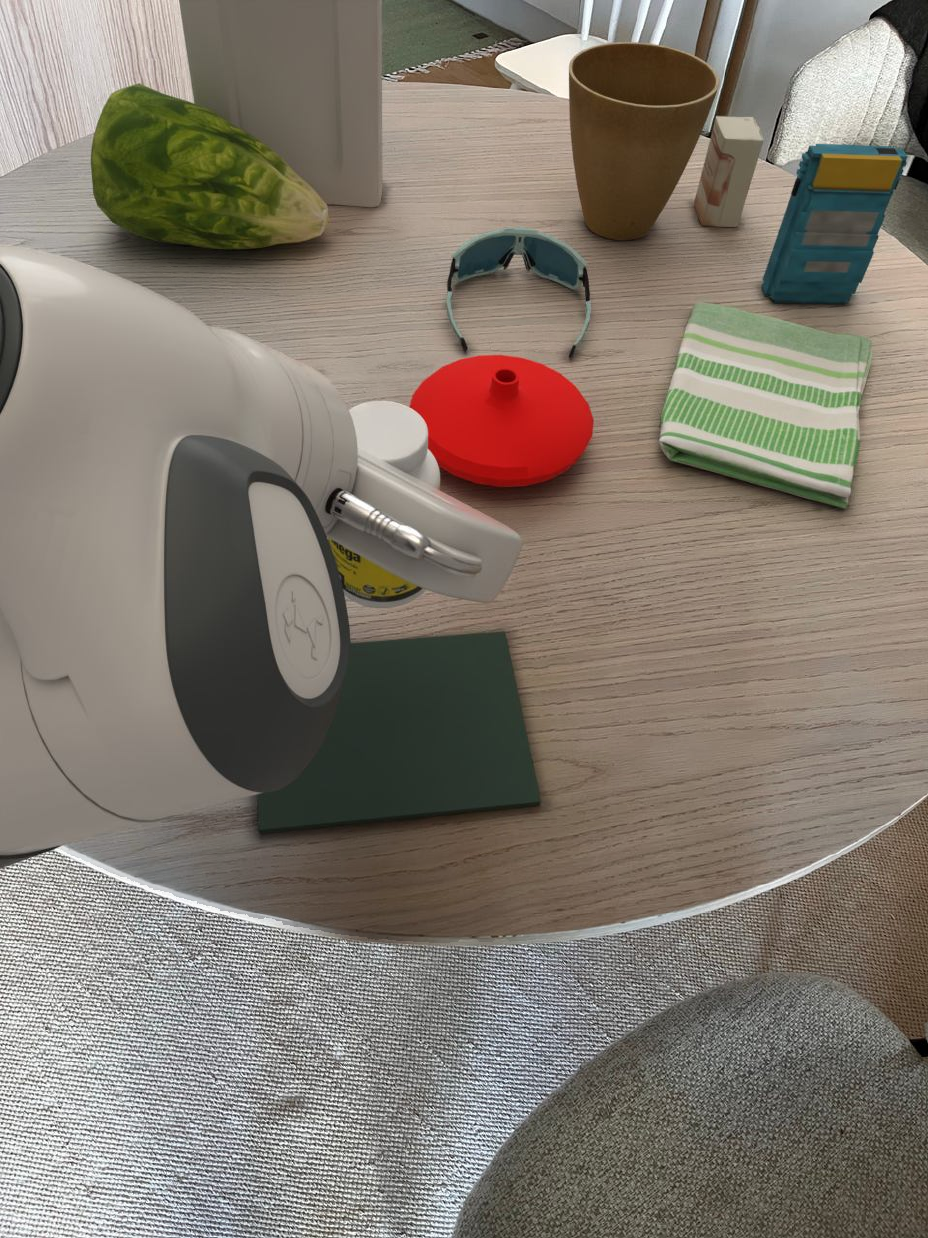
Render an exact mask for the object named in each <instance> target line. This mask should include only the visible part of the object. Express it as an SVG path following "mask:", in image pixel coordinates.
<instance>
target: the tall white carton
mask: <svg viewBox="0 0 928 1238" xmlns="http://www.w3.org/2000/svg"><path fill="white" fill-rule="evenodd" d="M178 4H179V11H180V18H181V23H182V31H183V38H184V44H185V51H186V57H187V64H188V70H189V77H190V82H191V91H192V98H193V103H194V104H196V105H199V106H201V107H204V108H206V109H209V110H211V111H213V112H214V113H216V114H217V115H219V116H220V117H222V118H223V119H225V120H226V121H228V122H229V123H231V124H233V125H234V126H236V127H238V128H240V129H241V130H243V131H245V132H247V133H249V134H250V135H252V136H253V137H255V138H256V139H258V140H259V141H261V142H263V143H264V144H266V145H267V146H268V147H269V148H270V149H272V150H273V151H274V152H275V153H276V154H278V155H279V156H280V157H281V158H282V159H283V160H284V161H285V162H286V163H287V164H288V166H289V167H290V168H291V169H292V170H293V171H294V172H295V173H296V174H297V175H298V176H299V177H301V178H302V179H303V180H304V181H305V182H306V183H307V184H309V185H310V186H311V187H312V188H313V189H314V190H315V191H316V192H317V193H318V195H319V196H320V197H321V198H322V199H323V201H324V202H325V203H326V205H335V206H348V207H361V208H377V207H380V205H381V201H382V195H383V190H384V189H383V23H382V22H383V21H382V20H383V14H382V13H383V1H382V0H178Z"/></svg>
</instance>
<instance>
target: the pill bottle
mask: <svg viewBox="0 0 928 1238" xmlns="http://www.w3.org/2000/svg"><path fill="white" fill-rule="evenodd" d="M348 409H349V408H348ZM349 412H350V414H351V417H352V420H353V423H354V427H355V431H356V437H357V446H358V448H359V449H361V450H363V451H365V452H367V453H369V454H371V455H373V456H375V457H376V458H378V459H380V460H382V461H384V462H386V463H388V464H390V465H392V466H394V467H396V468H397V469H399V470H401V471H403V472H405V473H407V474H409V475H411V476H413V477H415V478H417V479H418V480H420V481H422V482H424V483H426V484H428V485H430V486H432V487H434V488H436V489H438V490H439V491H441V472H440V471H441V470H440V467H439V466H438V463H437V461H436V459H435V457H434V456H433V454H432V453H431V452H430V450H429V449H428V428H427V425H426V423H425V421H424V420H423V418H422V417H421V416H420V415H419V414H418V413H417V412H416V411H414V410H413V409H411V408H409V406H407V405H405V404H402V403H399V402H395V401H389V400H372V401H365V402H363V403H359V404H357V405H355V406H353V407H351V408H350V409H349ZM327 539H328V541H329V544H330V546H331V549H332V552H333V555H334V558H335V561H336V564H337V567H338V571H339V574H340V578H341V582H342V586H343V591H344V596H345V598H348V599H349V600H350V601H352V602H354V603H356V604H358V605H360V606H363V607H367V608H370V609H371V608H372V609H392V608H397V607H401V606H404V605H406V604H408V603H411V602H413V601H415V600H416V599H418V598H419V597H421V596H422V595H423V594H424V593H425V592H426V591H427V590H426V589H424V588H421V587H419V586H417V585H414V584H412V583H410V582H408V581H406V580H404V579H402V578H400V577H398V576H396V575H394V574H392V573H390V572H388V571H387V570H385V569H383V568H381V567H379V566H378V565H376V564H374V563H372V562H371V561H369V560H367V559H365V558H364V557H362V556H360V555H358V554H356V553H355V552H353V551H351V550H349V549H348V548H346V547H344V546H342V545H341V544H339V543H337V542H335V541H333V540H332V539H330V538H328V537H327Z"/></svg>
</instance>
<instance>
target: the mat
mask: <svg viewBox="0 0 928 1238" xmlns="http://www.w3.org/2000/svg"><path fill="white" fill-rule="evenodd" d="M519 695H520V694H519V691H518V686H517V682H516V676H515V672H514V667H513V662H512V657H511V653H510V649H509V644H508V639H507V634H506V631H505V630H504V631H490V632H478V633H466V634H454V635H451V634H450V635H441V636H440V635H438V636H425V637H415V638H414V637H412V638H401V639H400V638H399V639H388V640H387V639H386V640H376V641H374V640H373V641H361V642H350V656H349V663H348V667H347V672H346V676H345V680H344V684H343V688H342V692H341V696H340V699H339V702H338V706H337V709H336V712H335V715H334V717H333V720H332V723H331V725H330V728H329V730H328V732H327V734H326V736H325V738H324V740H323V742H322V744H321V746H320V747H319V749H318V751H317V752H316V754H315V755H314V757H313V758H312V760H311V761H310V763H309V764H308V765H307V766H306V768H305V769H304V770H303V771H302V773H301V774H300V775H299V776H298V777H297V778H296V779H295V780H294V781H292V782H291V783H290V784H288V785H287V786H285V787H284V788H282V789H279V790H276V791H273V792H266V793H261V794H257V825H258V826H257V830H258V834H269V833H279V832H280V833H281V832H288V831H298V830H309V829H317V828H319V829H320V828H327V827H337V826H348V825H356V824H367V823H368V824H369V823H376V822H385V821H386V822H387V821H395V820H407V819H418V818H426V817H436V816H445V815H447V816H448V815H455V814H457V815H458V814H465V813H466V814H467V813H474V812H485V811H494V810H505V809H514V808H524V807H534V806H535V807H536V806H541V804H542V803H541V802H542V800H541V795H540V790H539V785H538V780H537V776H536V771H535V767H534V763H533V757H532V753H531V748H530V747H531V746H530V743H529V738H528V733H527V729H526V723H525V719H524V714H523V710H522V704H521V701H520V700H521V699H520V696H519Z"/></svg>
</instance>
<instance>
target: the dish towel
mask: <svg viewBox="0 0 928 1238" xmlns="http://www.w3.org/2000/svg"><path fill="white" fill-rule="evenodd" d="M871 349H872V341H871V339H870V338H869V337H866V336H862V335H857V334H850V333H849V334H848V333H834V332H829V331H826V330H825V331H824V330H820V329H817V328H813V327H810V326H806V325H802V324H799V323H796V322H791V321H788V320H783V319H779V318H776V317H772V316H768V315H763V314H759V313H755V312H750V311H747V310H744V309H741V308H737V307H733V306H729V305H722V304H717V303H710V302H697V303H696V304H694V305H693V306H692V308H691V310H690V316H689V319H688V321H687V324H686V327H685V330H684V334H683V336H682V340H681V343H680V346H679V350H678V353H677V357H676V360H675V366H674V372H673V374H672V376H671V380H670V383H669V387H668V391H667V393H666V395H665V400H664V403H663V407H662V410H661V415H660V432H659V438H658V446H659V448H660V449H661V451H662V453H663V454H664V455H665V457H666V458H667V459H668V460H669V461H671V462H674V463H679V464H681V465H682V464H683V465H687V466H690V467H693V468H698V469H699V470H700V469H701V470H705V471H708V472H713V473H716V474H719V475H723V476H726V477H730V478H733V479H737V480H740V481H744V482H747V483H751V484H754V485H757V486H761V487H765V488H769V489H773V490H775V491H780V492H784V493H788V494H790V495H793V496H797V497H800V498H804V499H807V500H811V501H815V502H819V503H823V504H827V505H831V506H833V507H837V508H840V509H844V510H845V509H847V507H848V504H849V498H850V496H851V493H852V481H853V479H854V469H855V466H856V464H857V460H858V456H859V454H860V452H859V449H860V444H861V435H860V434H861V431H860V430H861V429H860V408H861V405H862V404H861V403H862V396H863V393H864V390H865V387H866V383H867V379H868V377H869V372H870V369H871V366H872V363H873V359H874V358H873V357H874V352H873V351H872V350H871Z"/></svg>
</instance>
